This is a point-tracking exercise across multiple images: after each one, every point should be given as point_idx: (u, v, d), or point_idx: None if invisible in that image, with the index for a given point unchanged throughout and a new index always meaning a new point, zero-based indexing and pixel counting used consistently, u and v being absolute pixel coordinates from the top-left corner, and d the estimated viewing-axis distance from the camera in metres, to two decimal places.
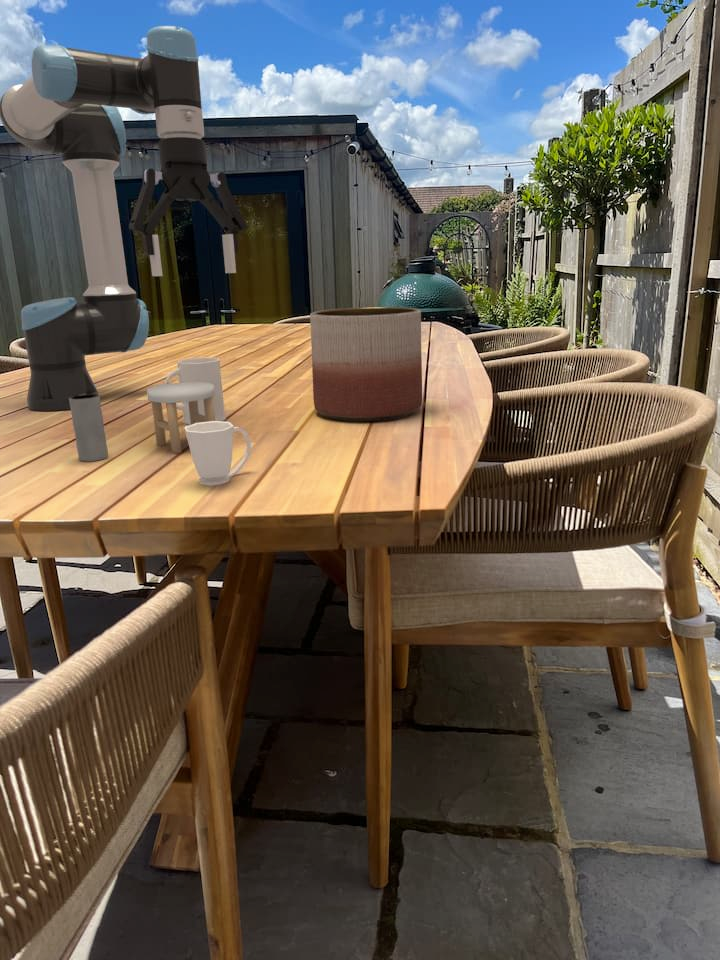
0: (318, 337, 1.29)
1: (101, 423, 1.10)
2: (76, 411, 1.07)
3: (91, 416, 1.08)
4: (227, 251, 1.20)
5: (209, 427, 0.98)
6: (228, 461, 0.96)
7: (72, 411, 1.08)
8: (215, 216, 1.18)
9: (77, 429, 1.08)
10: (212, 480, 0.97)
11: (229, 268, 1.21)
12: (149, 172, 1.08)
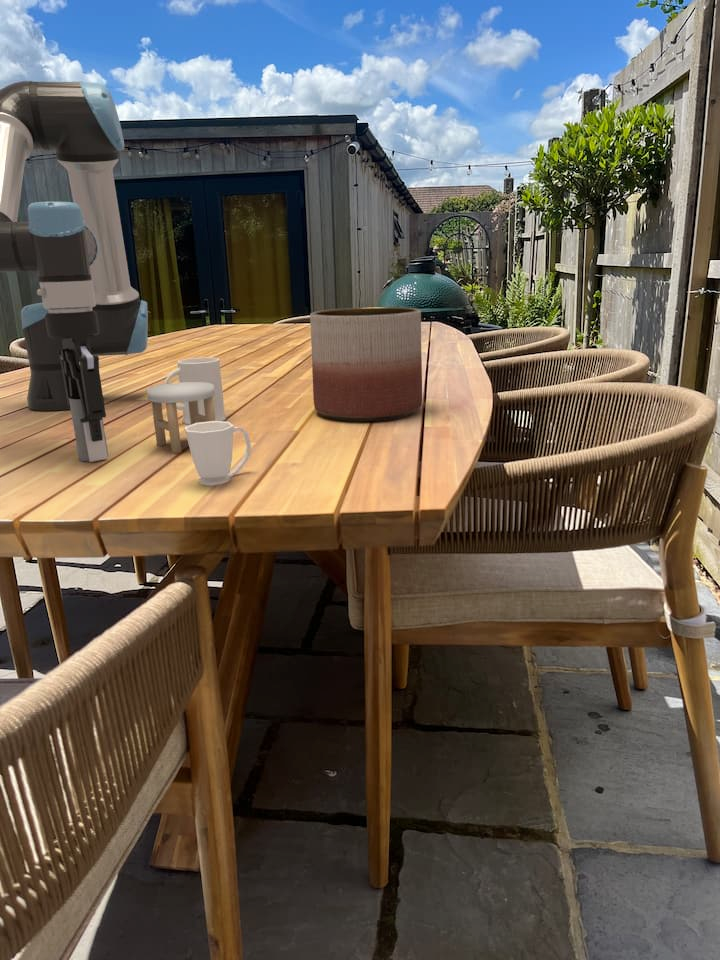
0: (318, 337, 1.29)
1: None
2: (76, 411, 1.07)
3: None
4: None
5: (209, 427, 0.98)
6: (228, 461, 0.96)
7: (72, 411, 1.08)
8: None
9: (77, 429, 1.08)
10: (212, 480, 0.97)
11: None
12: (58, 354, 1.11)
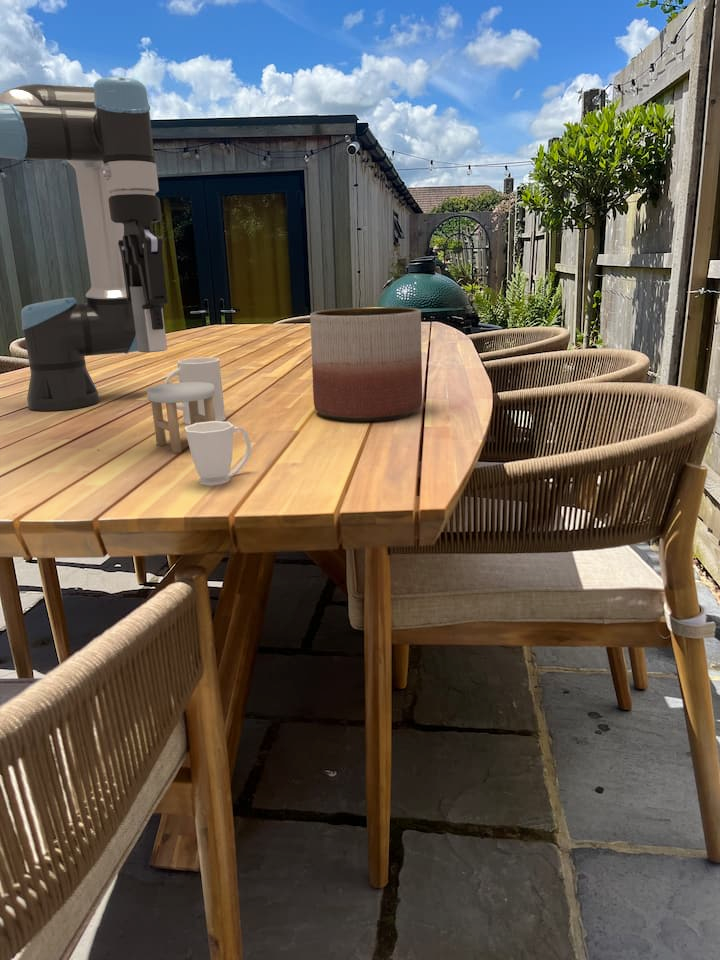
0: (318, 337, 1.29)
1: None
2: (137, 298, 1.06)
3: None
4: None
5: (209, 427, 0.98)
6: (228, 461, 0.96)
7: (133, 299, 1.07)
8: None
9: (137, 318, 1.08)
10: (212, 480, 0.97)
11: None
12: (118, 245, 1.10)
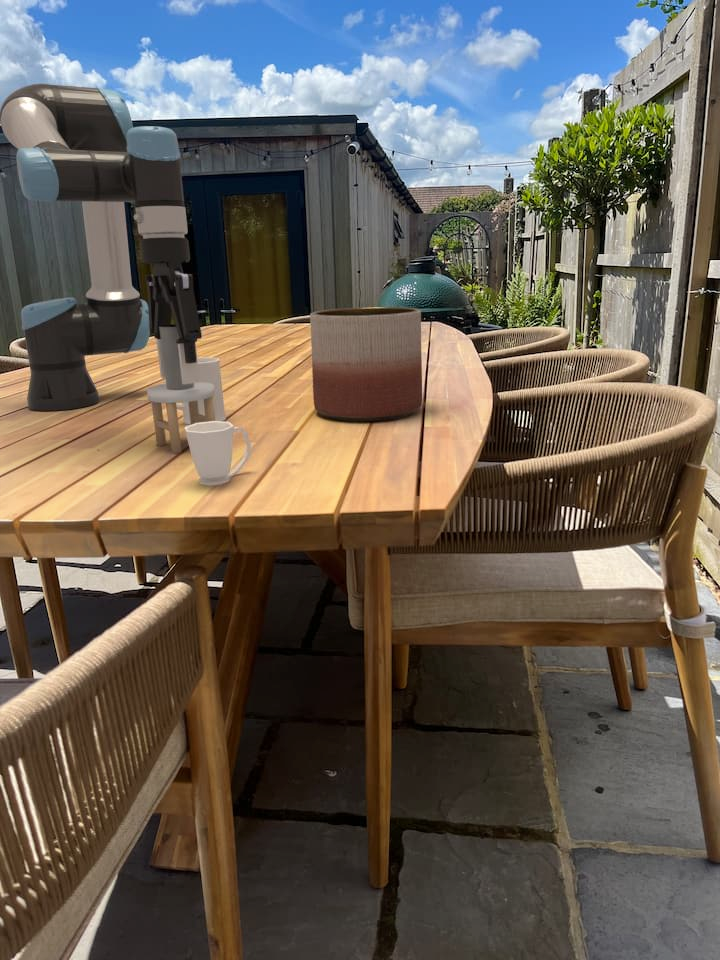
0: (318, 337, 1.29)
1: None
2: (167, 338, 1.10)
3: None
4: None
5: (209, 427, 0.98)
6: (228, 461, 0.96)
7: (163, 339, 1.11)
8: None
9: (167, 357, 1.11)
10: (212, 480, 0.97)
11: None
12: None
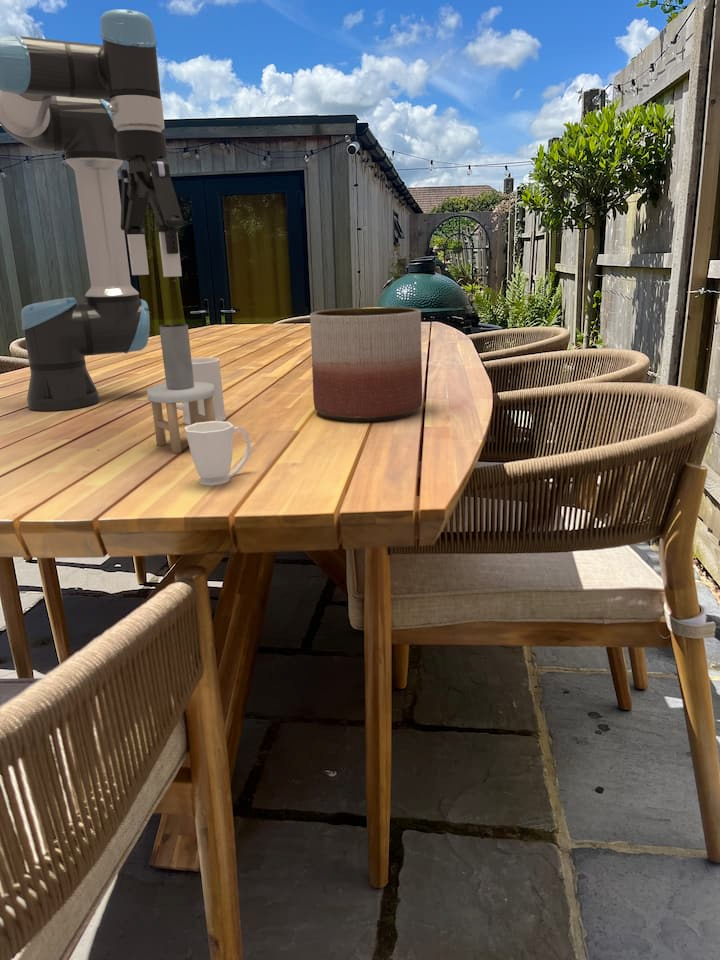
0: (318, 337, 1.29)
1: (189, 352, 1.13)
2: (167, 338, 1.10)
3: (181, 344, 1.11)
4: None
5: (209, 427, 0.98)
6: (228, 461, 0.96)
7: (163, 339, 1.11)
8: None
9: (167, 357, 1.11)
10: (212, 480, 0.97)
11: None
12: (121, 173, 1.10)
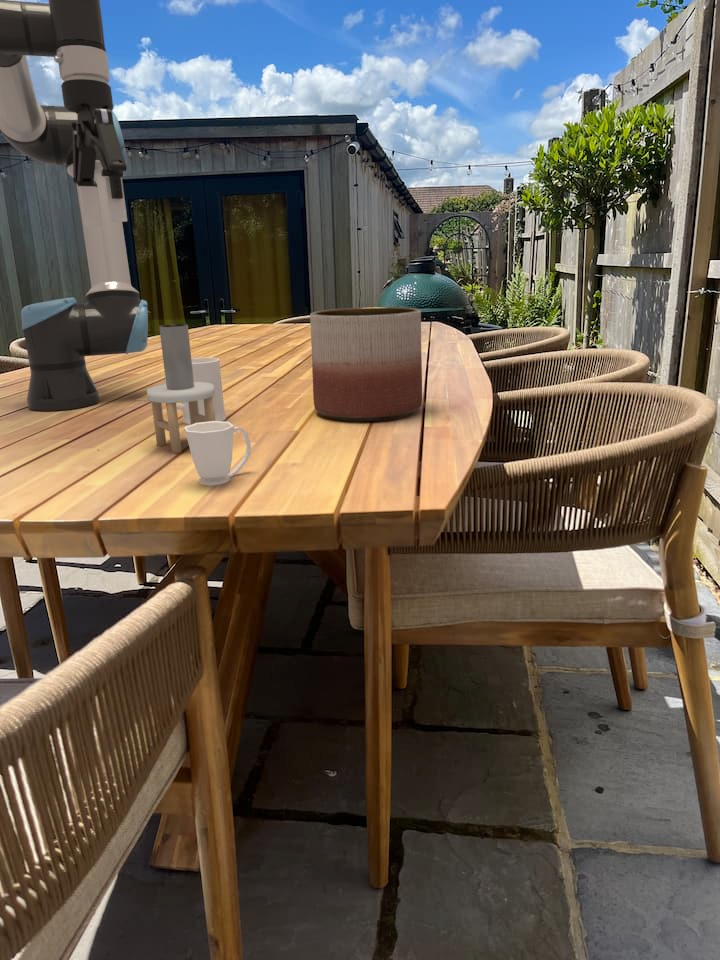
0: (318, 337, 1.29)
1: (189, 352, 1.13)
2: (167, 338, 1.10)
3: (181, 344, 1.11)
4: None
5: (209, 427, 0.98)
6: (228, 461, 0.96)
7: (163, 339, 1.11)
8: None
9: (167, 357, 1.11)
10: (212, 480, 0.97)
11: None
12: None
